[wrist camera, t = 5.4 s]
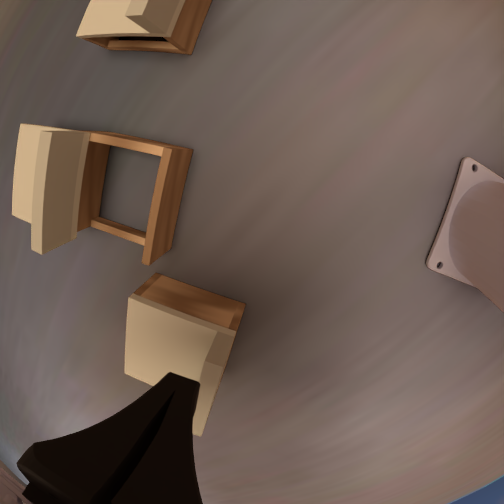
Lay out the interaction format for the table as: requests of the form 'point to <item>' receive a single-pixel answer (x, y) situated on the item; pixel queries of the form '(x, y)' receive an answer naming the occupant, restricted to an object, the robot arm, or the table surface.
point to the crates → (156, 188)
